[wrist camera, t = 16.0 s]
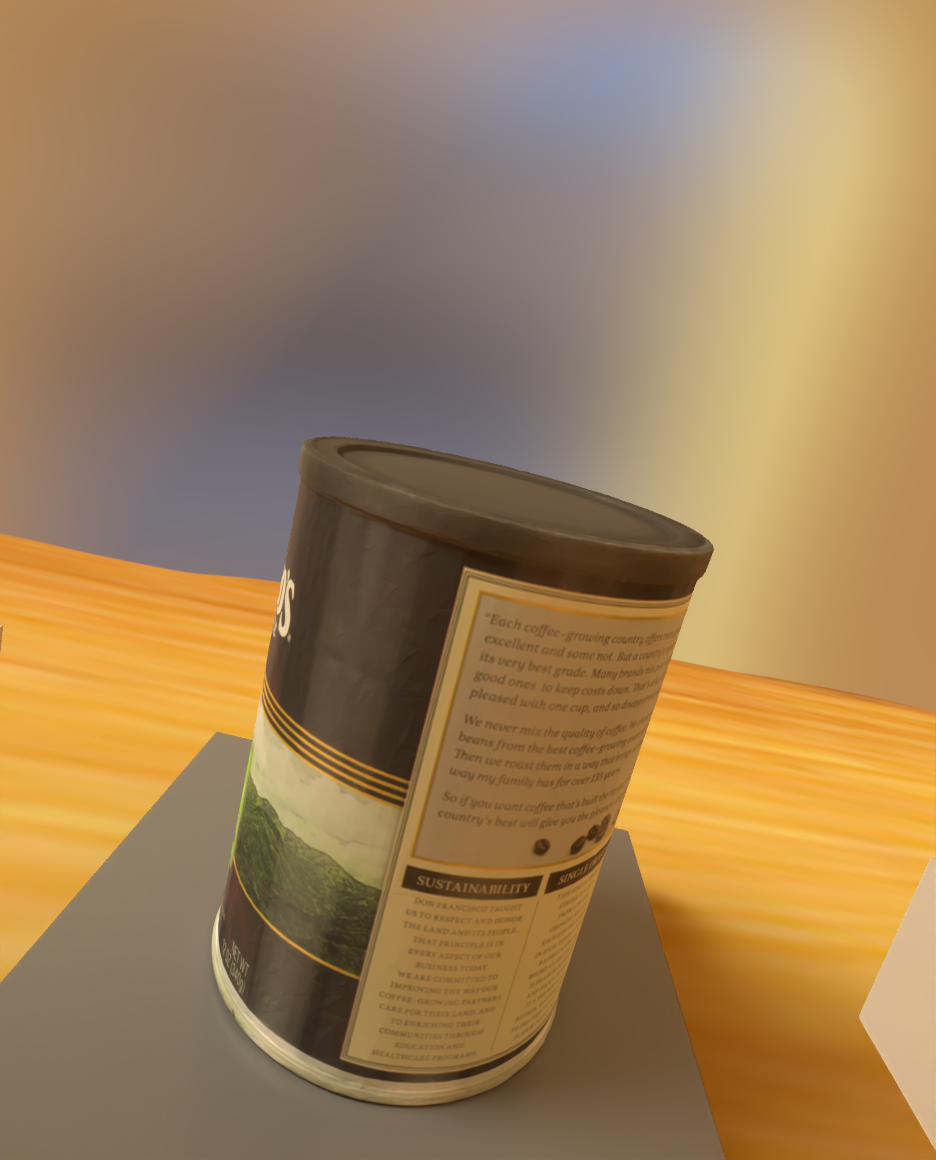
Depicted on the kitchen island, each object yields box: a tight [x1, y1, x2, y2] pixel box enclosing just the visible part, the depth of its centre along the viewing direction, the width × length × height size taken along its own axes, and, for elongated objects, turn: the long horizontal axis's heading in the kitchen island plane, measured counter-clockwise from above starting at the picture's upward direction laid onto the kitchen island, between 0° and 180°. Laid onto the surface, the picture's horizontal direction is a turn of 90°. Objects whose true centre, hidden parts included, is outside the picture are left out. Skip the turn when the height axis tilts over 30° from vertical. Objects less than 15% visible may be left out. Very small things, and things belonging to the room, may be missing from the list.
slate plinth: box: [0, 732, 726, 1160], centre depth 23 cm, size 18×20×3 cm
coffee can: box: [212, 437, 713, 1106], centre depth 21 cm, size 10×10×14 cm
